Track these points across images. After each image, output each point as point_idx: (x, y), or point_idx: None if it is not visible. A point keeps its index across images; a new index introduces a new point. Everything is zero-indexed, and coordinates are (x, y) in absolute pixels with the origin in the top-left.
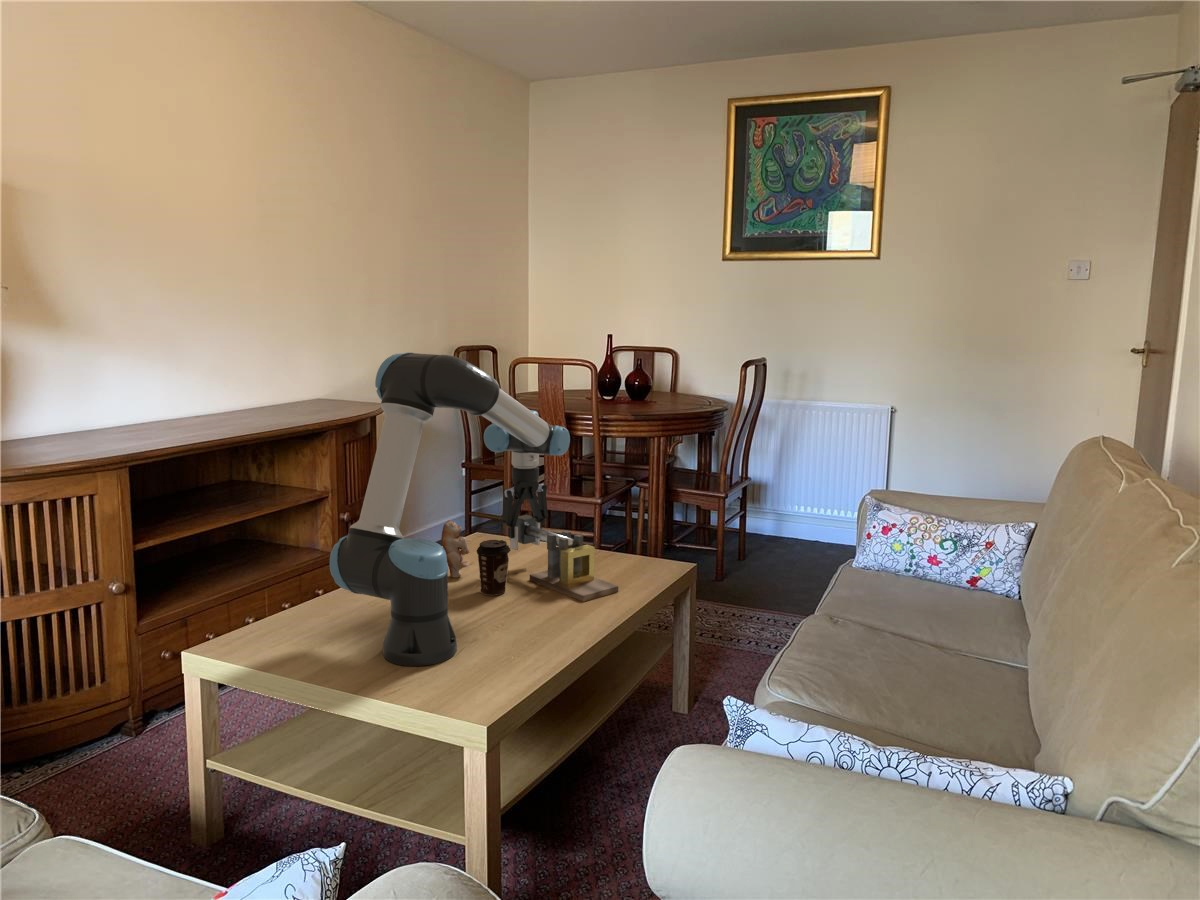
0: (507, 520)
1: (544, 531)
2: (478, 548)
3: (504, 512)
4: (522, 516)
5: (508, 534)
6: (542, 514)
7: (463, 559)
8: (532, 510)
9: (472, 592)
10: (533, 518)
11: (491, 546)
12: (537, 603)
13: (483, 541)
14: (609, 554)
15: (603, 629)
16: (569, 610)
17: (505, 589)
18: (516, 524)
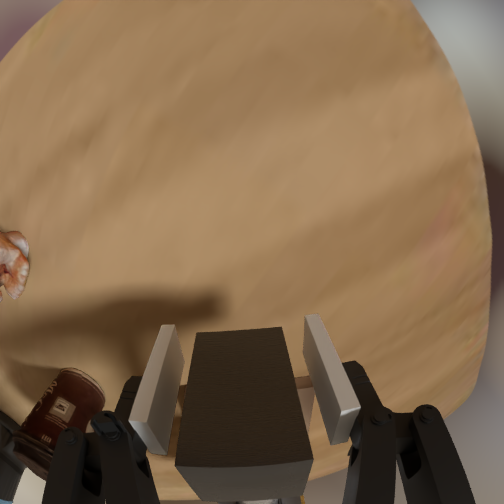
0: (85, 481)
1: (249, 501)
2: (14, 444)
3: (56, 502)
4: (240, 476)
5: (123, 391)
6: (413, 444)
7: (7, 260)
8: (354, 494)
9: (45, 362)
10: (283, 495)
11: (41, 477)
12: (146, 451)
13: (18, 453)
14: (481, 302)
15: (190, 498)
16: (181, 475)
17: (103, 406)
18: (184, 423)
